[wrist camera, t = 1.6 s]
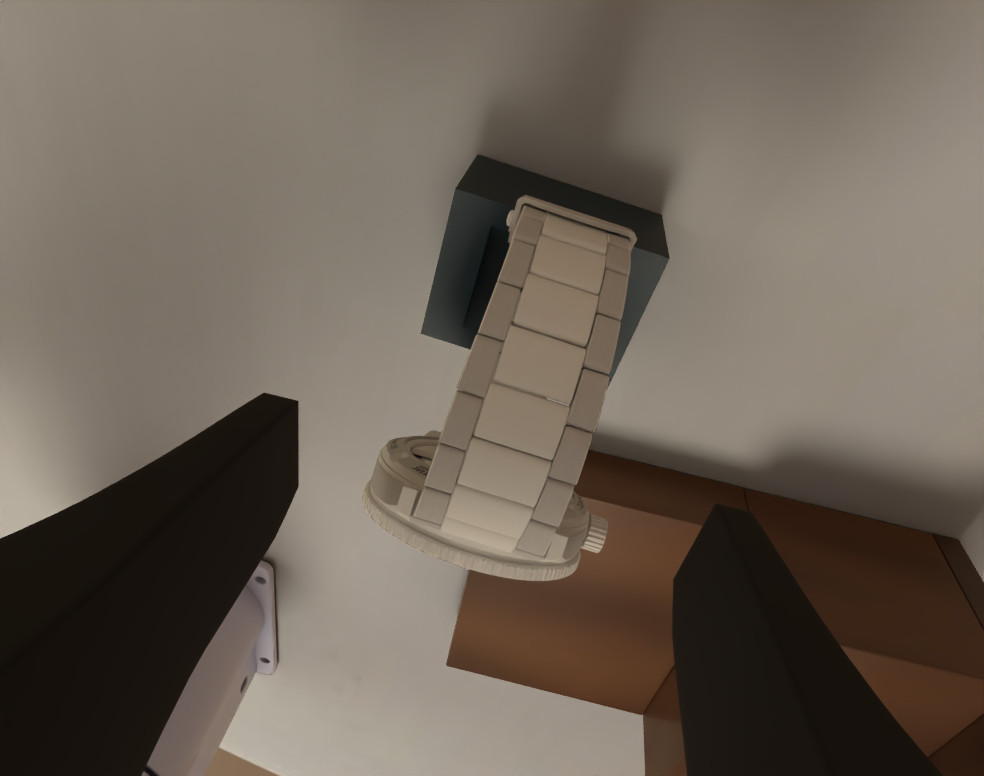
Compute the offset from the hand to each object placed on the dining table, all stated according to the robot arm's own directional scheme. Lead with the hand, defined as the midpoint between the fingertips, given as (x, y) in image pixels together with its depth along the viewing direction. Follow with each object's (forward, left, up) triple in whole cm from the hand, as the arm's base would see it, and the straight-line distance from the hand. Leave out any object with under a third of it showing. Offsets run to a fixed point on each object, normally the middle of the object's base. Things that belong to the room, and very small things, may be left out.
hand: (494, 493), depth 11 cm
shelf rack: (-13, -9, -10) cm, 19 cm away
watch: (0, 0, -11) cm, 11 cm away
